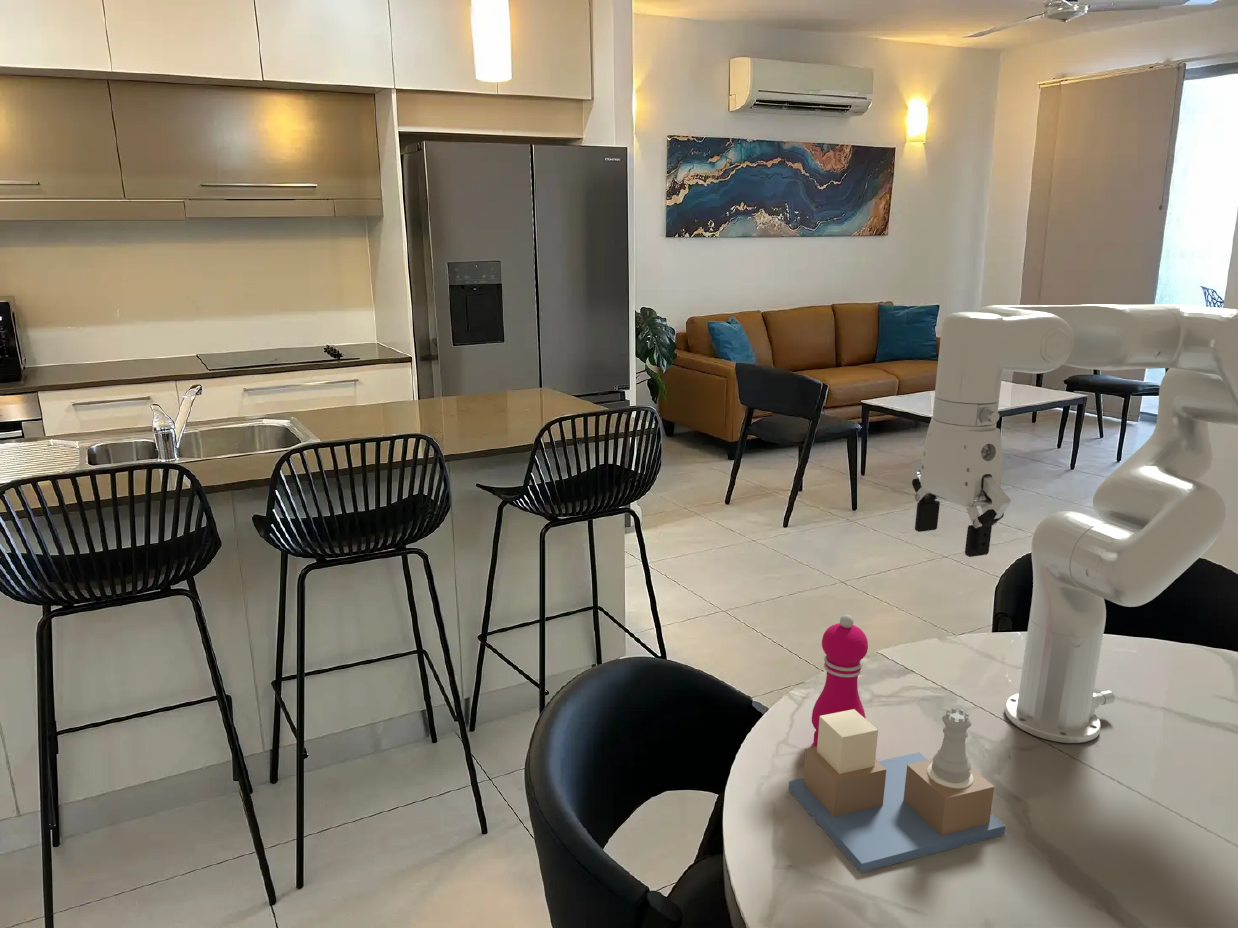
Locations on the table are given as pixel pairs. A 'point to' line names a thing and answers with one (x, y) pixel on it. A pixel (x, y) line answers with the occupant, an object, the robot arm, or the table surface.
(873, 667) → the table surface
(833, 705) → the pepper mill
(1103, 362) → the robot arm
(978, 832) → the blue and tan platform
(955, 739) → the rook chess piece
